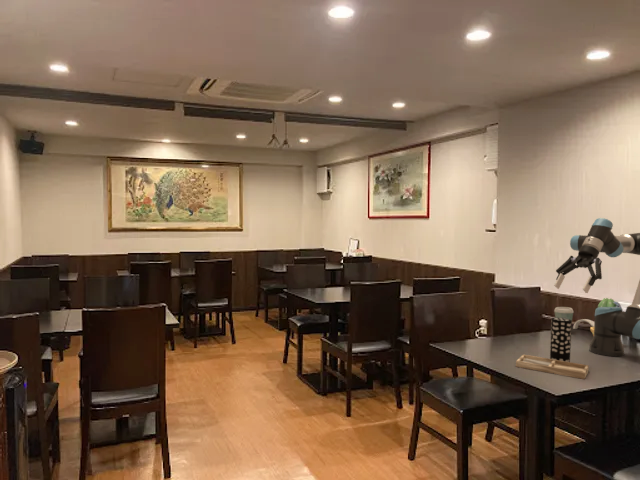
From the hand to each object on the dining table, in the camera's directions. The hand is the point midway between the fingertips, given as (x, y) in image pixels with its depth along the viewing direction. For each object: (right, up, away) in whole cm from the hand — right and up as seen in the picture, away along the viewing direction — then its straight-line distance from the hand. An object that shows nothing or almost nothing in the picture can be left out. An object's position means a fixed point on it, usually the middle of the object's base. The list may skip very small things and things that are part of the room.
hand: (570, 289), depth 206 cm
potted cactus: (+46, -35, +52) cm, 78 cm away
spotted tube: (+3, -36, +15) cm, 39 cm away
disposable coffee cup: (+36, -34, +77) cm, 92 cm away
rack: (-6, -36, +4) cm, 36 cm away
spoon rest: (+57, -35, +81) cm, 105 cm away
